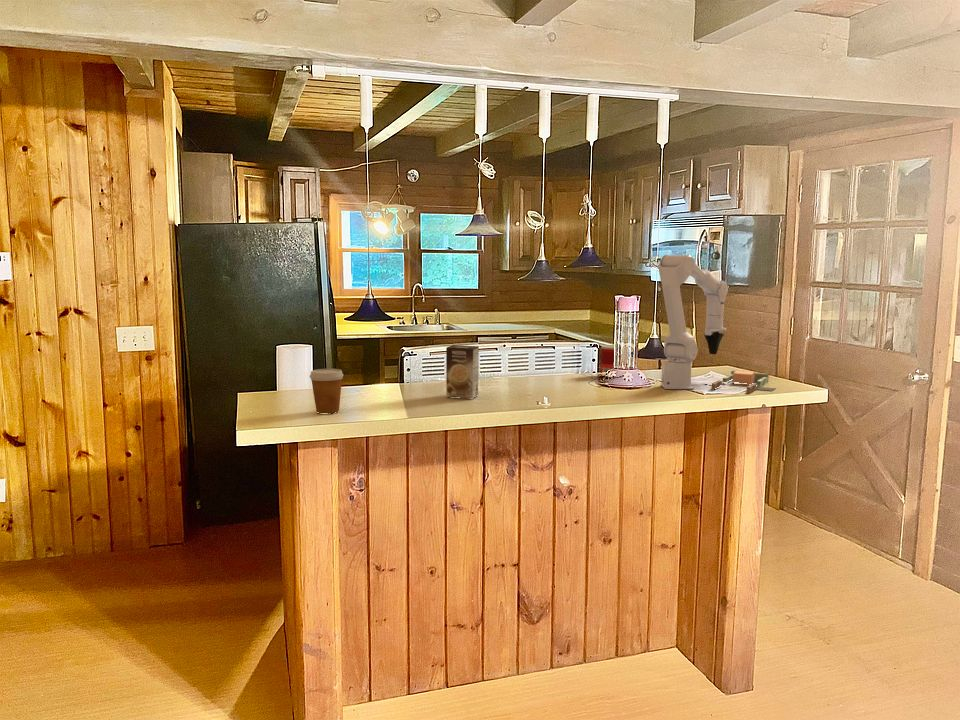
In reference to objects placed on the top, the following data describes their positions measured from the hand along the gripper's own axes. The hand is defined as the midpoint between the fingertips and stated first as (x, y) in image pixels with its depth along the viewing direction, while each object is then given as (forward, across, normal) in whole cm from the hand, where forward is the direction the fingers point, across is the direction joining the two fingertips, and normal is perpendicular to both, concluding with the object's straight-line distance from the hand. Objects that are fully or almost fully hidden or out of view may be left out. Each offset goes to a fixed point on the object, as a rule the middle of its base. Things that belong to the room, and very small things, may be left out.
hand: (713, 353), depth 266 cm
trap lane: (+9, -5, -11) cm, 16 cm away
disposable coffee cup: (+10, -110, +77) cm, 135 cm away
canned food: (+10, -10, +34) cm, 36 cm away
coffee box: (+10, -71, +57) cm, 92 cm away
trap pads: (+9, -7, -11) cm, 16 cm away
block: (+10, 0, -11) cm, 14 cm away
